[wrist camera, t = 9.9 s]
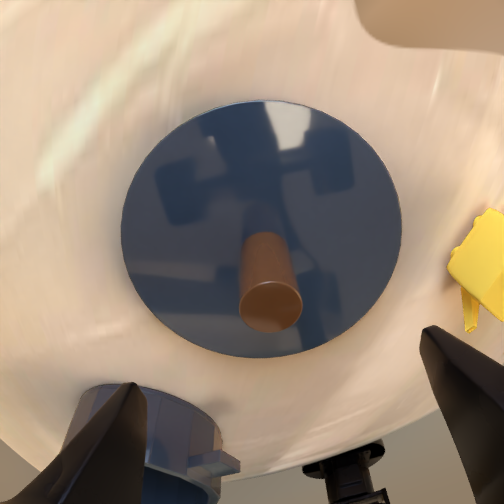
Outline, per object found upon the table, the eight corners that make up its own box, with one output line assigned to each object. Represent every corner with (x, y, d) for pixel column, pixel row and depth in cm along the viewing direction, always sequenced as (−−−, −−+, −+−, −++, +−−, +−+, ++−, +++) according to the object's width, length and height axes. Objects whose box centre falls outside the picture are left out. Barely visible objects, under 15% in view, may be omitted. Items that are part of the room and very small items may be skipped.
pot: (275, 436, 26) (280, 498, 20) (136, 469, 30) (127, 513, 24) (173, 351, 20) (156, 432, 15) (44, 407, 25) (23, 456, 19)
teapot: (462, 313, 20) (496, 359, 15) (420, 282, 18) (459, 334, 14) (524, 229, 17) (570, 263, 12) (492, 183, 15) (548, 214, 11)
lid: (423, 275, 18) (466, 331, 13) (228, 374, 21) (226, 442, 16) (313, 46, 12) (350, 20, 7) (78, 209, 16) (22, 257, 11)
